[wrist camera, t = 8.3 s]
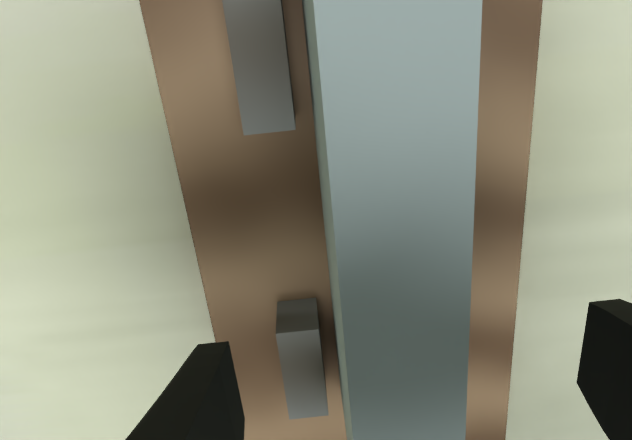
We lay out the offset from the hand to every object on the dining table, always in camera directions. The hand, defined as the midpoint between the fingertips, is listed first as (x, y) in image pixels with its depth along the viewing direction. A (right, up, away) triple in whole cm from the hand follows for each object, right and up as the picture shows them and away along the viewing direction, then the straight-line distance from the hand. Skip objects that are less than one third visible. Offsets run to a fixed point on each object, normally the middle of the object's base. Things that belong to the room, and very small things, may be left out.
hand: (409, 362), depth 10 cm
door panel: (0, +3, +7) cm, 8 cm away
